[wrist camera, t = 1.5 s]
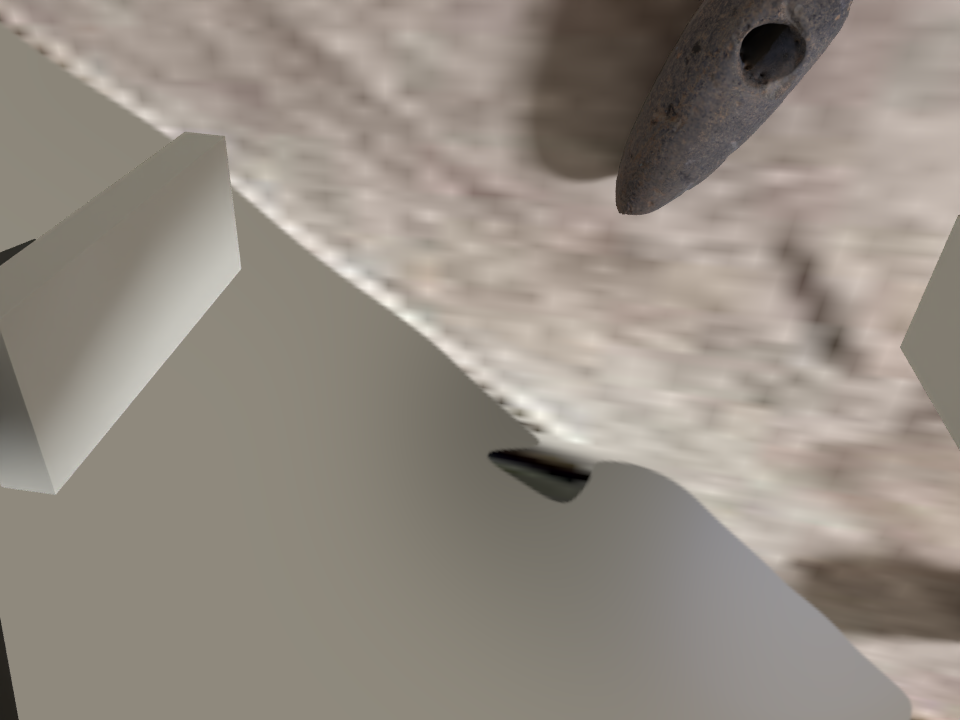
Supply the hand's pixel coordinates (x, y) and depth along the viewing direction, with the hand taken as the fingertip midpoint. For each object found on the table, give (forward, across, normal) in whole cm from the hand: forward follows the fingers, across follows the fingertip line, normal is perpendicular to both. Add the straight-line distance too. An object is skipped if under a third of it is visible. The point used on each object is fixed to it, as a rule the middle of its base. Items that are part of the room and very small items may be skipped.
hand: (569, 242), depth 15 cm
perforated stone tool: (+28, +6, -3) cm, 29 cm away
